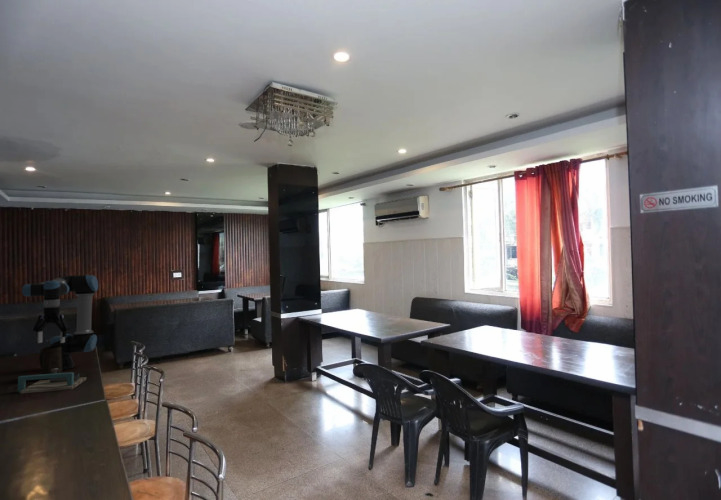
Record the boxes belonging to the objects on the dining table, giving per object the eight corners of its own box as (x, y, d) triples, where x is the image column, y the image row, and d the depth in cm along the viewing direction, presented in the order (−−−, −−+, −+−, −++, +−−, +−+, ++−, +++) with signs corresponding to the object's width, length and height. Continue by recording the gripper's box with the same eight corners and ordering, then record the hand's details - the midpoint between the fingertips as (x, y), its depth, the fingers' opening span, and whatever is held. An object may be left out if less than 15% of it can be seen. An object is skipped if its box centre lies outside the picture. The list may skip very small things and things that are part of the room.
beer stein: (67, 375, 256) (65, 344, 257) (53, 380, 245) (51, 348, 246) (45, 376, 257) (44, 346, 258) (30, 381, 247) (29, 349, 247)
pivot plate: (39, 383, 240) (39, 367, 240) (86, 379, 246) (86, 364, 247) (20, 393, 221) (20, 376, 221) (71, 389, 227) (72, 373, 227)
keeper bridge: (20, 391, 225) (20, 376, 225) (73, 386, 232) (73, 372, 232) (17, 392, 223) (17, 377, 223) (71, 387, 230) (71, 373, 230)
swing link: (48, 382, 234) (48, 377, 234) (52, 380, 238) (52, 375, 239) (76, 380, 238) (76, 375, 238) (79, 378, 242) (80, 373, 242)
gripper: (25, 307, 230) (25, 344, 229) (67, 307, 230) (67, 343, 229) (36, 306, 238) (35, 341, 237) (77, 305, 237) (76, 341, 236)
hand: (51, 342), depth 233 cm, fingers open, 13 cm apart
